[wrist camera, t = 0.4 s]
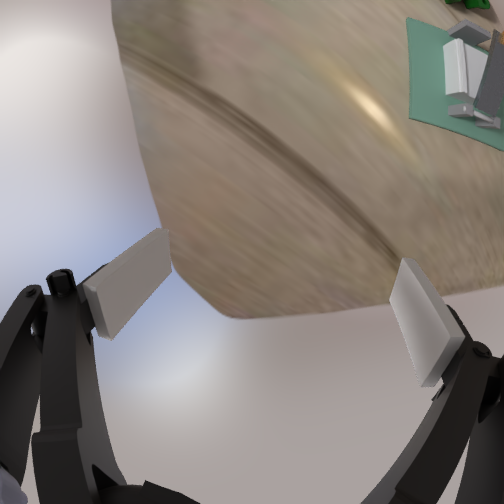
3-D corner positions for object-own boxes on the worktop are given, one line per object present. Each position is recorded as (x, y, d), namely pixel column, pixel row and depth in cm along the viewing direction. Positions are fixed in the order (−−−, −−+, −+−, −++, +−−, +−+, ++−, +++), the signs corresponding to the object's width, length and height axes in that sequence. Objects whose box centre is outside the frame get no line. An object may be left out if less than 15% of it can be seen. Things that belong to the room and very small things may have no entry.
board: (405, 17, 24) (421, 0, 17) (497, 58, 21) (520, 52, 14) (408, 118, 32) (429, 115, 25) (500, 150, 29) (526, 156, 22)
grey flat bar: (494, 26, 11) (501, 29, 11) (515, 39, 11) (521, 43, 10) (472, 104, 23) (477, 110, 22) (491, 113, 22) (496, 119, 22)
